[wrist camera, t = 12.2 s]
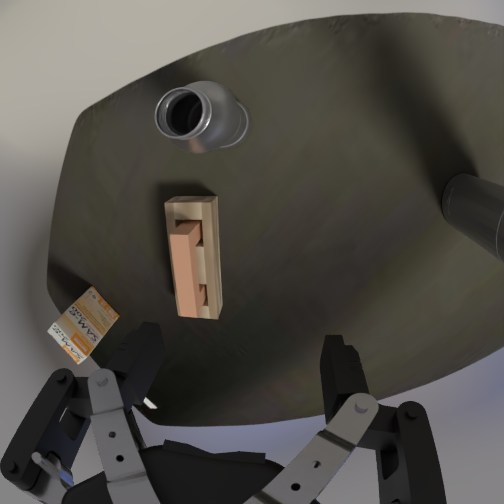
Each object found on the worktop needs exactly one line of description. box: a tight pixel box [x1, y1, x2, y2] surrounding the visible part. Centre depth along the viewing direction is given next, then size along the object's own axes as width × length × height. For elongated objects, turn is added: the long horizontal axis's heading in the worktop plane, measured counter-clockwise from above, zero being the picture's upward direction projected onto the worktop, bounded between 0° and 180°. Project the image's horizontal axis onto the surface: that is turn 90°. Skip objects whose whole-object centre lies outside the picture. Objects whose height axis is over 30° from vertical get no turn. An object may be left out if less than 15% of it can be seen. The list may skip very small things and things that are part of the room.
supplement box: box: [48, 286, 119, 364], centre depth 43 cm, size 8×5×13 cm, turn 38°
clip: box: [170, 220, 207, 318], centre depth 38 cm, size 2×12×7 cm, turn 0°
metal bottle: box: [155, 81, 252, 154], centre depth 25 cm, size 6×7×20 cm
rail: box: [165, 196, 222, 319], centre depth 41 cm, size 6×18×4 cm, turn 0°
